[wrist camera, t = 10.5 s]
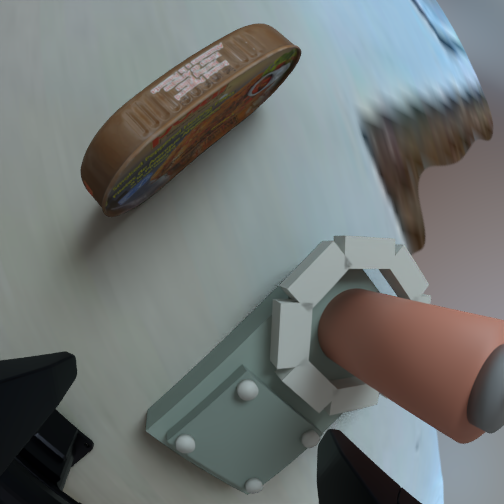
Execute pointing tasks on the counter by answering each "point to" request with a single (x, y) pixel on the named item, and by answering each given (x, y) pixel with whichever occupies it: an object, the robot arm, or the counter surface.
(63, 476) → the robot arm
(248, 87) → the tin
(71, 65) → the counter surface
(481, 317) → the oil can
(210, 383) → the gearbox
